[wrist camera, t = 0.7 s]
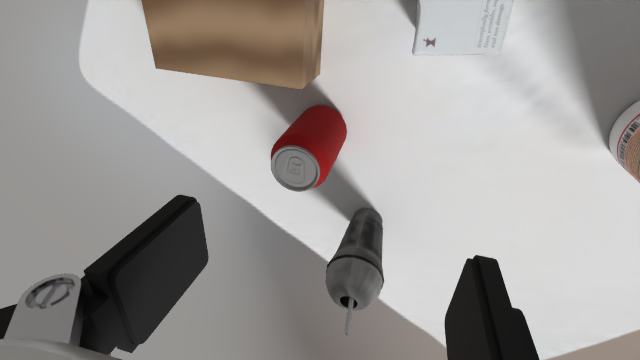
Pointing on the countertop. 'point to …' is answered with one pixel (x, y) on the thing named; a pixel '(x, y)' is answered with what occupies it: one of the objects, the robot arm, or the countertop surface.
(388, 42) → the countertop surface
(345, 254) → the beverage cup
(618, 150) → the fruit juice
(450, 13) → the skincare box
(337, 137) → the beverage can
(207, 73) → the walnut block
